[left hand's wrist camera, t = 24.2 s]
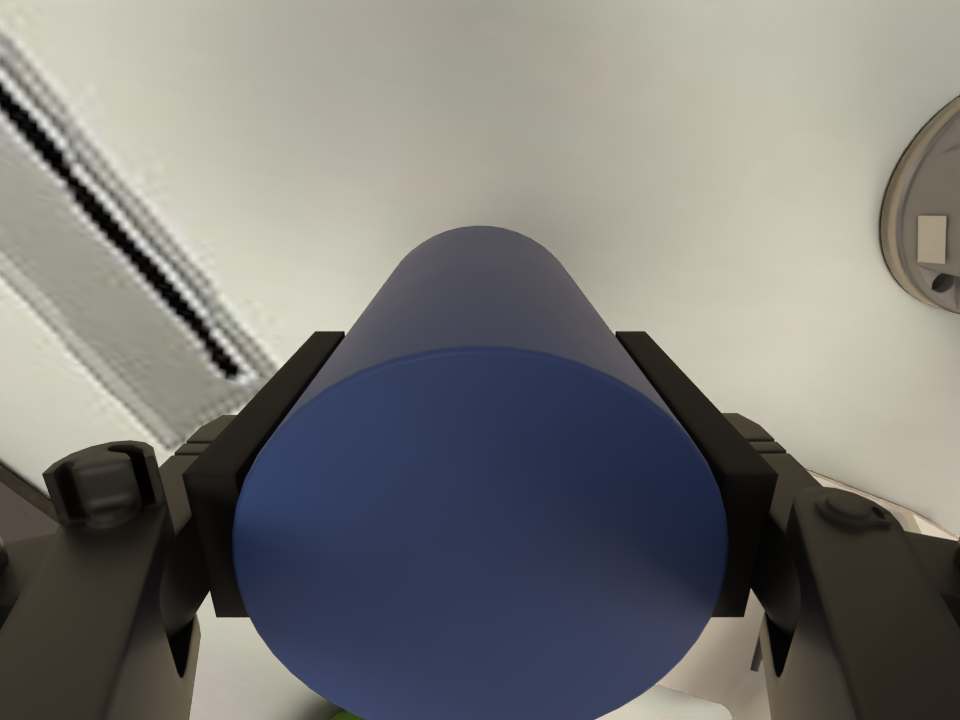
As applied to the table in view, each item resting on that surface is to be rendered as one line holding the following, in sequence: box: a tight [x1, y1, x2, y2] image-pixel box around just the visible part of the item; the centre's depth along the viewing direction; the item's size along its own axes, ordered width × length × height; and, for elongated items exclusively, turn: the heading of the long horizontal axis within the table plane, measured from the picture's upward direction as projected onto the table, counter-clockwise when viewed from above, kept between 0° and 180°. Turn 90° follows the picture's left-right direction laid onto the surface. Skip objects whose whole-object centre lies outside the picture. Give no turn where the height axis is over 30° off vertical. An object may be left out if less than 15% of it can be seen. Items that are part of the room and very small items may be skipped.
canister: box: [232, 226, 728, 720], centre depth 13 cm, size 7×7×12 cm
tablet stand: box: [656, 470, 959, 720], centre depth 39 cm, size 18×25×17 cm
